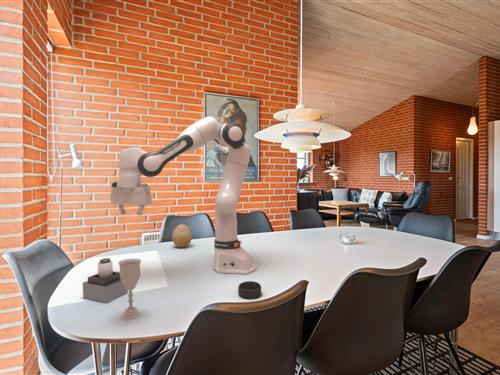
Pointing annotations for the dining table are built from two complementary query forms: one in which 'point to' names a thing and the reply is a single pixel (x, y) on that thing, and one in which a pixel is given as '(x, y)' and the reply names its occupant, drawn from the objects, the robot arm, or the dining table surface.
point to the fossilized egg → (182, 236)
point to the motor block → (103, 288)
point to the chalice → (130, 282)
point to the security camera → (105, 268)
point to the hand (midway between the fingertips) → (131, 214)
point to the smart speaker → (249, 290)
